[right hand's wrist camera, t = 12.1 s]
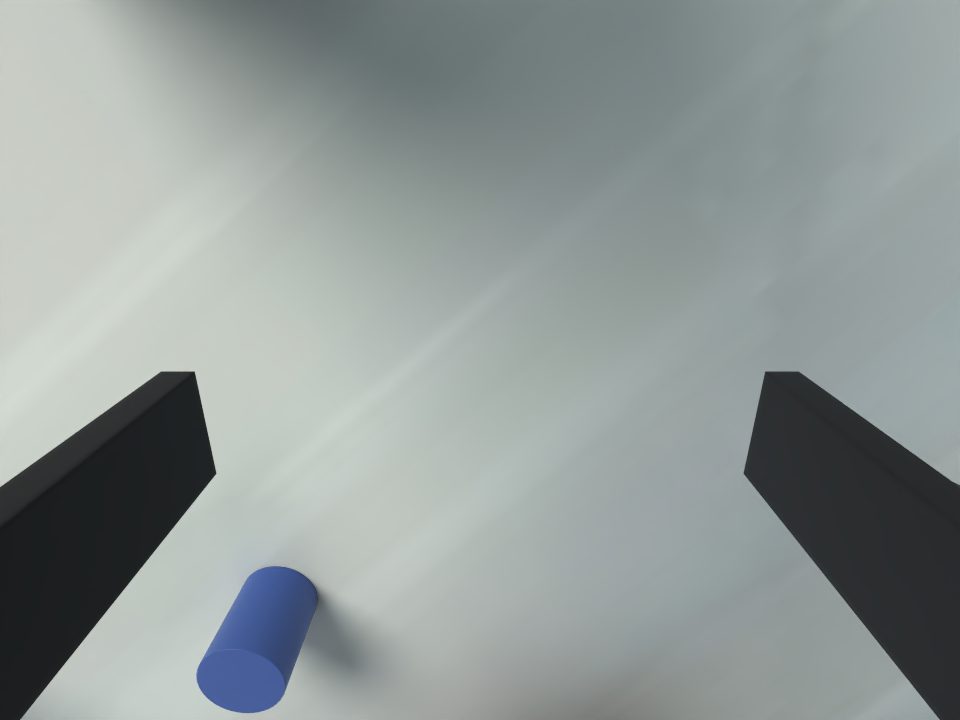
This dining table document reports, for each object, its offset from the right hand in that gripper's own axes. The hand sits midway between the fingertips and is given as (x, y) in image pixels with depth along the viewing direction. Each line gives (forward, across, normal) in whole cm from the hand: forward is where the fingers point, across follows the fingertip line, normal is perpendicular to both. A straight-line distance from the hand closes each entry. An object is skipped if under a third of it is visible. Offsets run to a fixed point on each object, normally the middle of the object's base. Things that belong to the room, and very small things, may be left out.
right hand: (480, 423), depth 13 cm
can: (+21, -16, -27) cm, 38 cm away
